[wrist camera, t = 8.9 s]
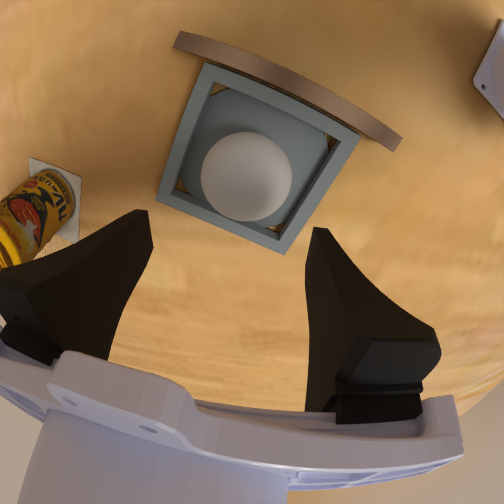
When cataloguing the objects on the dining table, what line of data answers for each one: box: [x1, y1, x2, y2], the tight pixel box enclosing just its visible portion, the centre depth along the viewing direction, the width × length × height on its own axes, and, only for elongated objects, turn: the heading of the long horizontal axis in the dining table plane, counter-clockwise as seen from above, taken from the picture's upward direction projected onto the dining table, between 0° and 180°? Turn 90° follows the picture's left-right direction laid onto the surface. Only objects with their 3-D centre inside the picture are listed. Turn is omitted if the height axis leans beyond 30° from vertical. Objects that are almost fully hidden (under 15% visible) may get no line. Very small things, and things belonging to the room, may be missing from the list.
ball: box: [201, 132, 292, 221], centre depth 18 cm, size 6×6×6 cm
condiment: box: [0, 157, 82, 271], centre depth 19 cm, size 7×8×12 cm
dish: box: [156, 62, 361, 255], centre depth 20 cm, size 11×11×1 cm
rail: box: [173, 30, 403, 152], centre depth 15 cm, size 15×1×2 cm, turn 66°
